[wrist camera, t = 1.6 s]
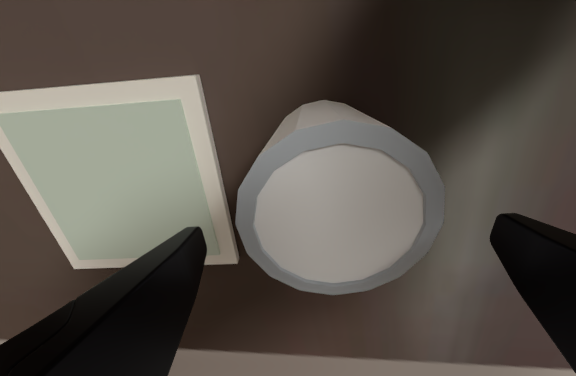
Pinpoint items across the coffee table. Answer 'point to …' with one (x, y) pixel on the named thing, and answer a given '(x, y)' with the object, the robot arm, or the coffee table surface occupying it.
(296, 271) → the white-topped cylinder
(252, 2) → the coffee table surface
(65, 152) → the plate
